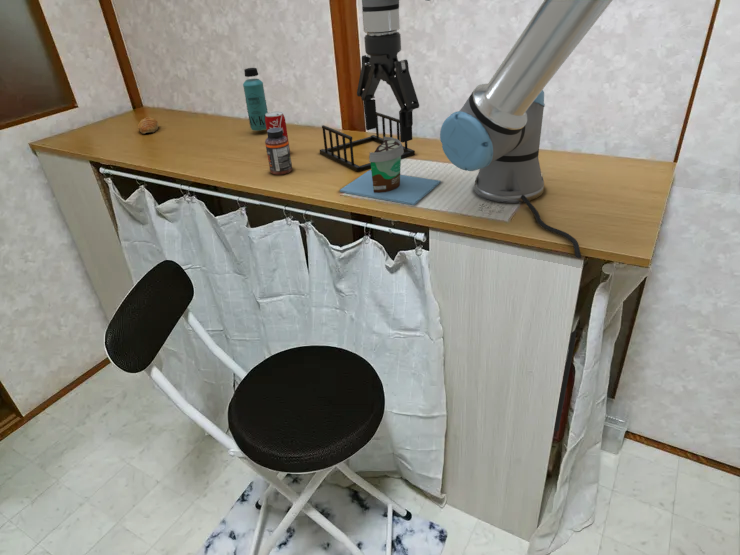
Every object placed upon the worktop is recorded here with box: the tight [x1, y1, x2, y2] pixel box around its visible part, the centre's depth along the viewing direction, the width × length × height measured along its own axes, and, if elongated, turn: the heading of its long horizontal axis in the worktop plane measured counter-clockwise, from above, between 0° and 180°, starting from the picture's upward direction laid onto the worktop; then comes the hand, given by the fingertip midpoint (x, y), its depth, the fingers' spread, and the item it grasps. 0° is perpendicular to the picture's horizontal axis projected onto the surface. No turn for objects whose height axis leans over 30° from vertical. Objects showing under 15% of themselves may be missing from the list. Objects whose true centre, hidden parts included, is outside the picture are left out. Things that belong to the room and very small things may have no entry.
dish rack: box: [319, 111, 416, 173], centre depth 146 cm, size 20×19×8 cm
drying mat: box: [339, 169, 441, 206], centre depth 127 cm, size 20×14×1 cm
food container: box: [368, 136, 404, 193], centre depth 124 cm, size 12×6×10 cm, turn 162°
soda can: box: [265, 110, 291, 151], centre depth 150 cm, size 6×6×12 cm
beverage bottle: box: [242, 67, 269, 132], centre depth 168 cm, size 6×7×20 cm
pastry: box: [137, 116, 159, 135], centre depth 184 cm, size 9×7×4 cm
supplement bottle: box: [264, 128, 293, 176], centre depth 138 cm, size 6×6×11 cm
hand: (388, 134), depth 120 cm, fingers open, 13 cm apart
